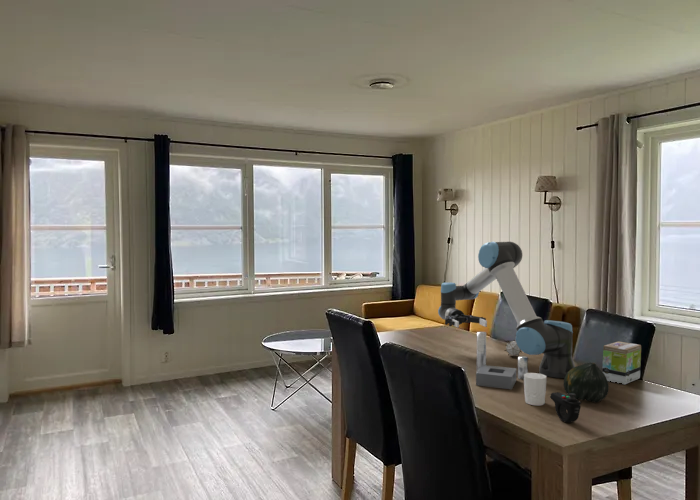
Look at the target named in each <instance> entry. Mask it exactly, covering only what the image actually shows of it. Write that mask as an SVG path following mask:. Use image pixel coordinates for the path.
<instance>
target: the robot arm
mask: <svg viewBox="0 0 700 500" xmlns="http://www.w3.org/2000/svg"><path fill="white" fill-rule="evenodd" d="M477 258H478V263H479V265H480V266H481V267H483V269H482V270H481V271H480V272H479V273H477V274H476V275H475V276H473V278H471V279H470V280H469V281H468V282H467V283H465V284H463V285H457V283H455V282H450V281H449V282H447V281H446V282H442V283H441V286H440V306H439V308H438V309H437V312H438V313H437V314H438V316H439V317H440V318H441V319H442V320H444V325H445V326H446V325H447V326H449V327H452V326H453V327H455V328H460V325H462V324H464V323H465V324H469V323H471V324H472V323H474V324H479V325H480V326H483V327H486V328H487V327H488V320H487V318H486V317H483V316H476V315H472V314H470V315H466V314H465V313H464V311H462V310H460V309H458V308H457V306H456V304H457V302H456V301H465V300H466V301H467V300H474V299H476V298H478V297H479V294H480V292H481V291H483V290H484V289H485V288H486V287H487V286H489V285H490V284H492V283H493V282H494V281H495V280H496V281H497V283H498V285H499V287H500V289H501V292H502V293H503V295H504V298H505V300H506V302H507V304H508V306H509V308H510V310H511V313H512V315H513V317H514V319H515V321H516V323H517V324H516V327H515V329H516V332H515V333H516V334H515V342H516V343H517V345H518V347H519V348H520V350H521V351H522V353H524V354H526V355H531V356H533V355H535V356H536V355H537V356H538V355H541V354H543V356H542V359H541V361H540V364H539V368H538V369H539V371H538V372H539V374H543V375H545V376H547V377H549V378H556V379H564V378H565V376H566V375H567V373H568V372H569V371H570V370H571V369H572V368H574V367H576V366H575V361H574V359H573V333H574V332H573V325H572V323H569V322H566V321H559V320H550V319H549V320H548V319H546V320H543V318H542V317H540V316H537V314H536V312H535V310H534V308H533V306H532V304H531V302H530V300H529V298H528V296H527V294H526V292H525V289H524V287H523V285H522V284H521V281H520V279H519V277H518V275H517V274H516V271H515V268H516V267H517V266H519V264H520V263H521V262H522V261H523V260H522V259H523V249H522V248H521V246H520V245H519V244H517V243H516V242H513V241H488V242H484V243H483V244H482V245H481V246H480V248H479V250H478V256H477Z"/></svg>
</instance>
